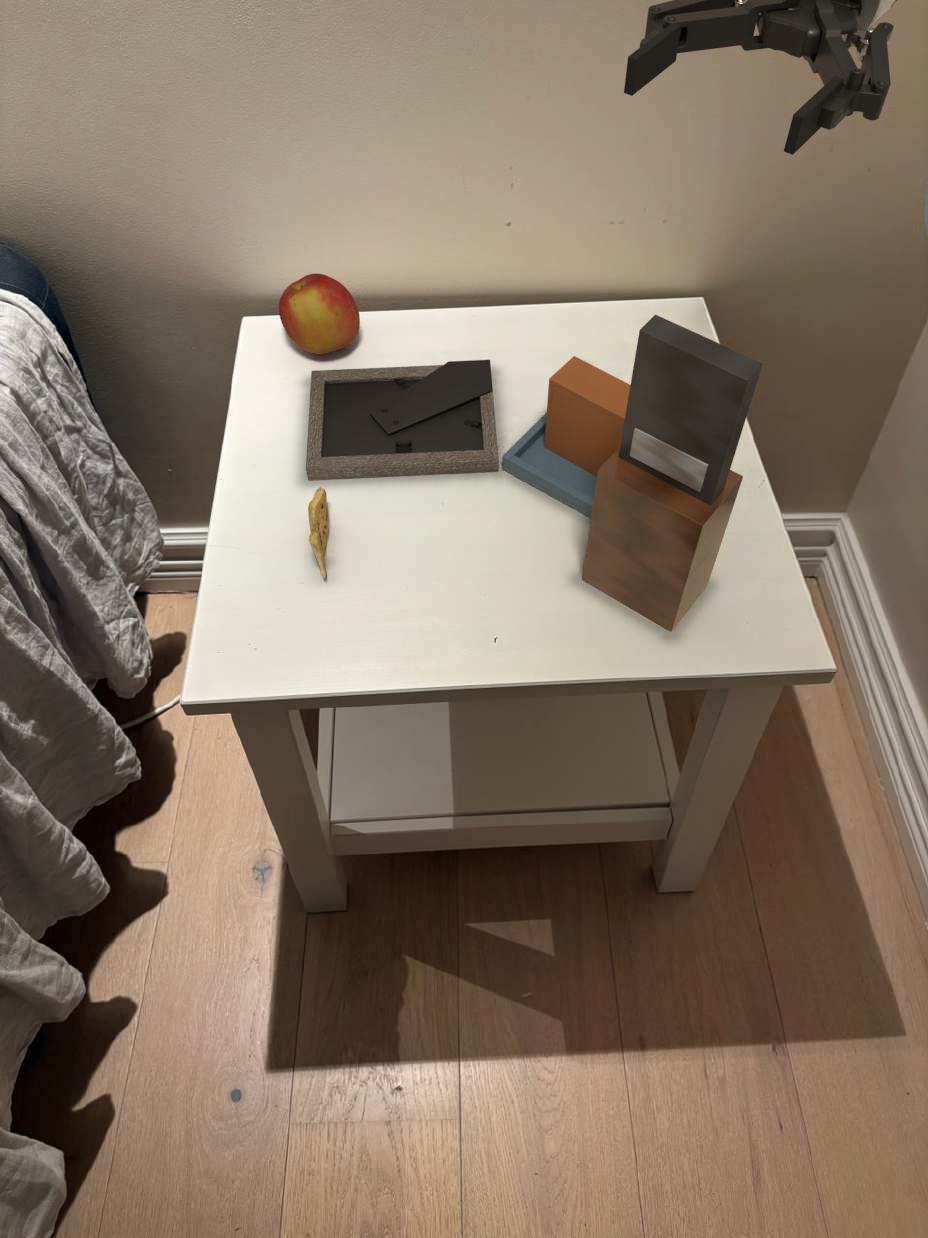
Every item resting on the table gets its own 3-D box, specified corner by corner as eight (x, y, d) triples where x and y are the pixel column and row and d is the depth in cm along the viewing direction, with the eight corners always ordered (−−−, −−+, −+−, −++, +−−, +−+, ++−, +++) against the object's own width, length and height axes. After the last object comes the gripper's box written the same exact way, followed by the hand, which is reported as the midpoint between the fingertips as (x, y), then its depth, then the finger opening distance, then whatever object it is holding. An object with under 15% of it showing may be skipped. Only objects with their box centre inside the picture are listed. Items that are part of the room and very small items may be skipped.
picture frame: (490, 374, 99) (313, 382, 99) (490, 359, 97) (310, 367, 97) (498, 471, 91) (308, 480, 91) (499, 456, 90) (304, 465, 89)
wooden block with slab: (707, 585, 84) (785, 348, 62) (671, 632, 81) (739, 401, 59) (619, 536, 87) (664, 295, 65) (581, 579, 84) (616, 342, 63)
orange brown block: (652, 471, 90) (666, 403, 83) (629, 495, 89) (642, 428, 82) (567, 424, 94) (574, 355, 87) (543, 447, 92) (548, 378, 85)
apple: (340, 312, 105) (330, 247, 98) (374, 355, 101) (367, 291, 94) (275, 336, 103) (261, 272, 96) (308, 382, 99) (296, 318, 92)
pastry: (314, 510, 89) (306, 473, 85) (331, 509, 89) (323, 472, 85) (313, 587, 84) (304, 552, 80) (331, 586, 84) (323, 551, 80)
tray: (689, 460, 92) (692, 447, 90) (623, 536, 87) (625, 524, 85) (570, 400, 97) (572, 386, 95) (501, 469, 92) (501, 455, 90)
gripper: (965, 86, 79) (850, 211, 70) (697, 1, 88) (564, 102, 78) (1006, -16, 73) (887, 107, 63) (714, -96, 81) (571, 1, 72)
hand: (708, 104), depth 71 cm, fingers open, 13 cm apart
